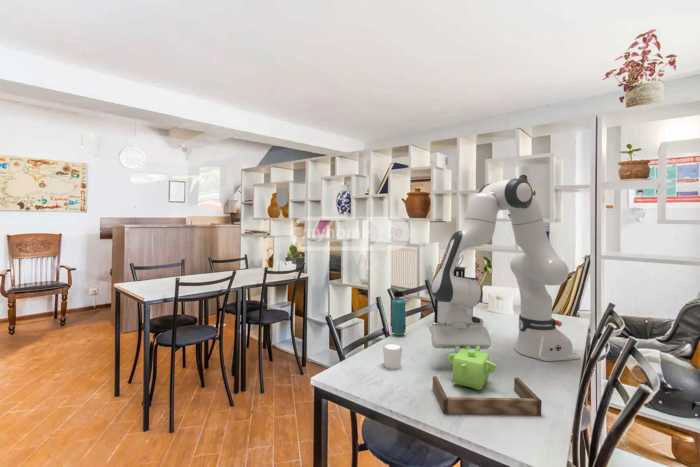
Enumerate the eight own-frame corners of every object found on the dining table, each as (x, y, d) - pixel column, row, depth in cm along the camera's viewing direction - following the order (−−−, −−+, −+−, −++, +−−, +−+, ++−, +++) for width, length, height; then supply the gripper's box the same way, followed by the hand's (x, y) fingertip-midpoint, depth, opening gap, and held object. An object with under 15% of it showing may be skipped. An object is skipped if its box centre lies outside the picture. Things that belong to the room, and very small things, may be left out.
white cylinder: (389, 371, 125) (389, 351, 125) (379, 363, 131) (379, 344, 131) (405, 367, 128) (406, 348, 128) (394, 360, 134) (395, 342, 134)
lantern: (441, 319, 189) (443, 252, 187) (475, 324, 180) (477, 254, 178) (431, 327, 174) (432, 255, 172) (467, 334, 165) (469, 257, 163)
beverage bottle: (405, 338, 159) (406, 293, 158) (390, 337, 160) (390, 292, 159) (406, 333, 165) (406, 290, 164) (391, 332, 166) (392, 289, 165)
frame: (517, 390, 112) (518, 377, 112) (541, 415, 98) (541, 400, 98) (432, 388, 112) (432, 376, 112) (443, 413, 98) (443, 399, 98)
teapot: (478, 371, 125) (479, 341, 124) (504, 390, 112) (505, 356, 111) (438, 377, 121) (439, 345, 120) (461, 396, 108) (462, 361, 107)
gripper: (430, 318, 130) (435, 355, 121) (487, 319, 130) (497, 356, 120) (427, 326, 135) (432, 363, 125) (482, 327, 134) (491, 364, 125)
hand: (464, 360), depth 123 cm, fingers closed
